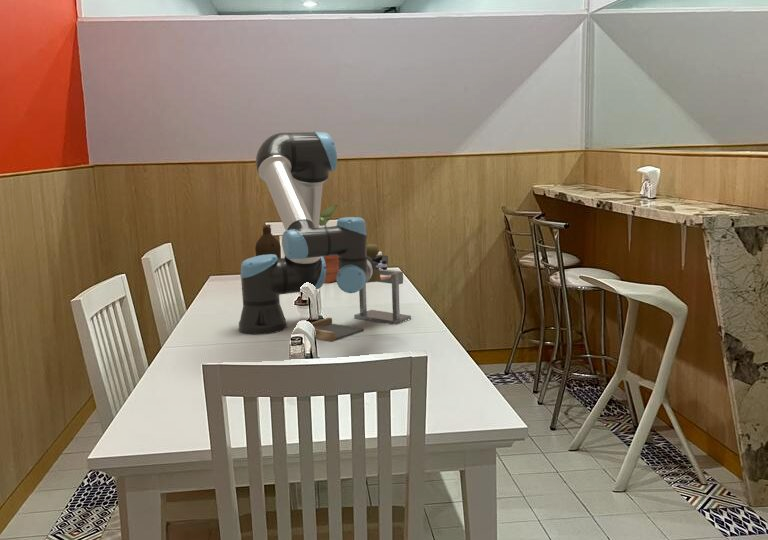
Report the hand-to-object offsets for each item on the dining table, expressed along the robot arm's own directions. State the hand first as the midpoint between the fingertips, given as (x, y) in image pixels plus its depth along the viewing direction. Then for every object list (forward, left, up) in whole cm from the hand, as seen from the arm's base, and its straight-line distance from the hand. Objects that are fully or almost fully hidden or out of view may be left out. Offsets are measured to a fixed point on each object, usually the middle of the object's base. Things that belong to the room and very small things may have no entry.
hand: (373, 255), depth 230 cm
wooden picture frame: (-9, -10, -23) cm, 27 cm away
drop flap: (-7, +7, -11) cm, 15 cm away
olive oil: (-89, +38, -24) cm, 99 cm away
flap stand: (-7, +12, -23) cm, 27 cm away
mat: (-9, -10, -23) cm, 27 cm away
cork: (+3, -5, -7) cm, 9 cm away
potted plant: (-71, +54, -24) cm, 92 cm away
